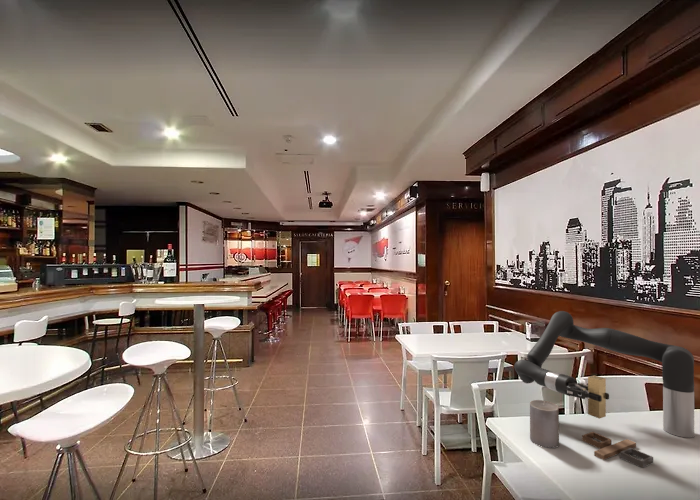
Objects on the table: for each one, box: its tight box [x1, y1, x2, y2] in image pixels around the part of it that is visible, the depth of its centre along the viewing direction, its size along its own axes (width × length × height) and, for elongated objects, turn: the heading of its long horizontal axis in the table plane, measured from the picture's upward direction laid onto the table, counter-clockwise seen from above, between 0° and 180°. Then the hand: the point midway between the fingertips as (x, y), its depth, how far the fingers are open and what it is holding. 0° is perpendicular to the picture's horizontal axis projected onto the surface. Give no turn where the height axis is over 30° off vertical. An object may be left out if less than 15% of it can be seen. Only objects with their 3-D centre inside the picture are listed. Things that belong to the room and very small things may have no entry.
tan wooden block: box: [587, 375, 607, 419], centre depth 138 cm, size 4×4×14 cm
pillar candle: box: [529, 399, 560, 449], centre depth 138 cm, size 10×10×15 cm
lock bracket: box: [581, 431, 654, 469], centre depth 132 cm, size 20×20×2 cm
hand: (604, 397), depth 135 cm, fingers closed on tan wooden block, 4 cm apart
